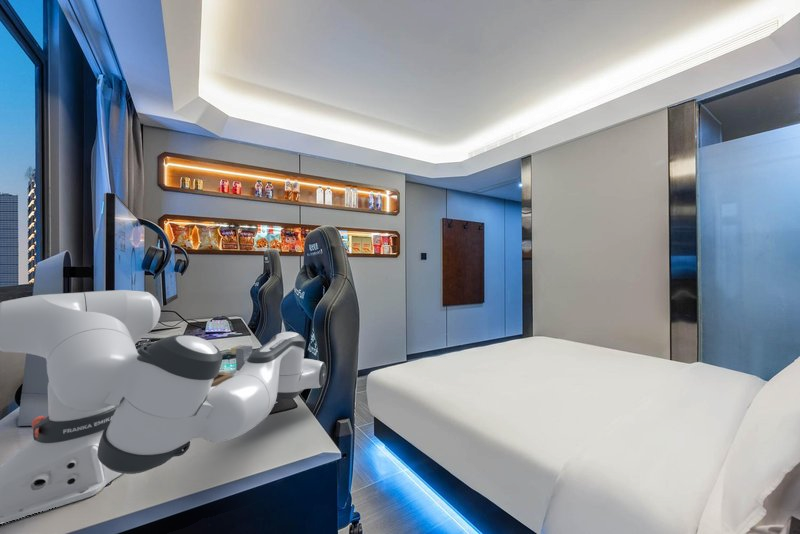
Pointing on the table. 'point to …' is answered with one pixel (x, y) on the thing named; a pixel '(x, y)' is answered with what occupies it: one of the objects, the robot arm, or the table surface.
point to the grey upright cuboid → (241, 354)
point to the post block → (221, 378)
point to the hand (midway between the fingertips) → (242, 368)
